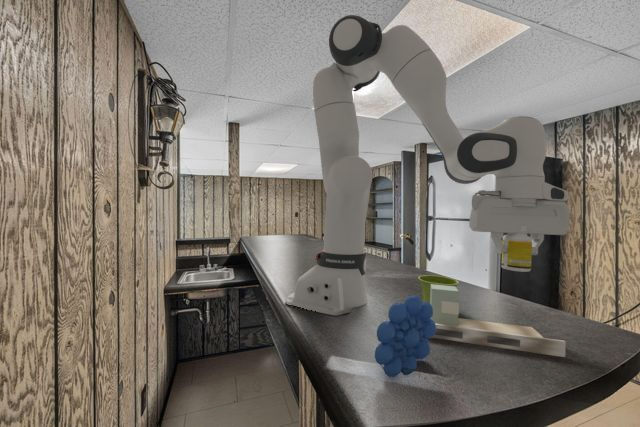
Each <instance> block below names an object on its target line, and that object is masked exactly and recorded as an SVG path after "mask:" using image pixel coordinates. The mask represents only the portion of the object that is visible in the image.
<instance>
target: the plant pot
mask: <svg viewBox="0 0 640 427" xmlns="http://www.w3.org/2000/svg"><path fill="white" fill-rule="evenodd" d="M418 280H419V284H420V286H421V294H422V302H428V303H430V286H431V284H434V285H444V286H455V287H456V288H457V286H458V285H459V283H460V282H459V281H458V280H456V279H454V278H451V277H447V276H443V275H442V276H441V275H433V274H432V275H430V274H429V275H427V274H425V275H420V276H418Z"/></svg>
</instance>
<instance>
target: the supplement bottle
mask: <svg viewBox="0 0 640 427" xmlns="http://www.w3.org/2000/svg"><path fill="white" fill-rule="evenodd" d="M526 233H527V227H526V226H521V230H520V233H506V234H503V238H502V239H501V240H502V242H503V244H504V245H505V246H508V249H507V253H506V254H501V269H504V270H508V271H513V272H519V273H520V272H522V273H523V272H524V273H525V272H531V270H532V257H533V255H532V238H531V237H530V235H528V234H526Z"/></svg>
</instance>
